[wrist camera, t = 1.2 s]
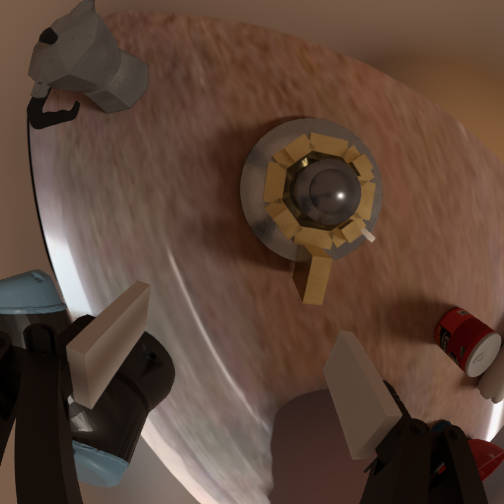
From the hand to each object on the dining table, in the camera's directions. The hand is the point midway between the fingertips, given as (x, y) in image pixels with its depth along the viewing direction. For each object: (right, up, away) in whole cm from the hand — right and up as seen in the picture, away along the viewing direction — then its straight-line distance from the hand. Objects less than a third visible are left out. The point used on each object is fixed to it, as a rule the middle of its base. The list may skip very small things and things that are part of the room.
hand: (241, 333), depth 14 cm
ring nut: (+8, +9, +19) cm, 22 cm away
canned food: (+35, -9, +25) cm, 44 cm away
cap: (+8, +12, +20) cm, 24 cm away
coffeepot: (-18, +26, +16) cm, 36 cm away
